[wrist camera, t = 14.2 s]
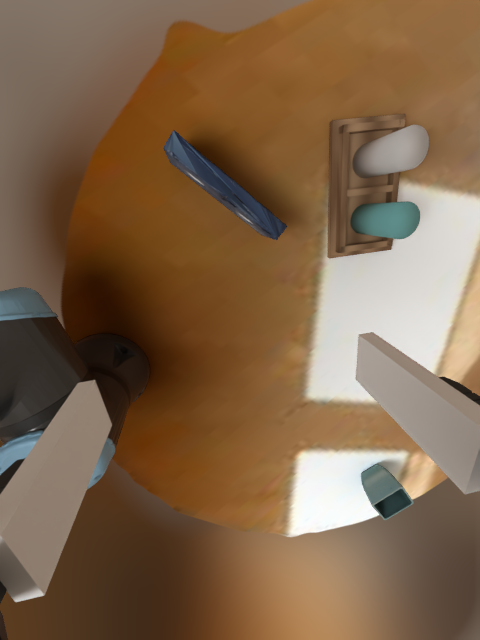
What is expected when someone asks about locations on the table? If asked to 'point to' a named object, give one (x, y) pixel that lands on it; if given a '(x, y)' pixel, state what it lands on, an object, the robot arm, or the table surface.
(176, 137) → the vhs cassette tape
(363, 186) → the rack
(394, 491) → the flower pot
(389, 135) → the white cylinder
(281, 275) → the table surface
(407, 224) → the teal rounded cylinder
